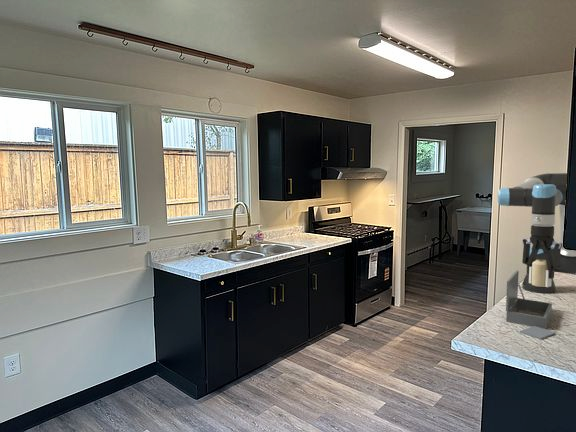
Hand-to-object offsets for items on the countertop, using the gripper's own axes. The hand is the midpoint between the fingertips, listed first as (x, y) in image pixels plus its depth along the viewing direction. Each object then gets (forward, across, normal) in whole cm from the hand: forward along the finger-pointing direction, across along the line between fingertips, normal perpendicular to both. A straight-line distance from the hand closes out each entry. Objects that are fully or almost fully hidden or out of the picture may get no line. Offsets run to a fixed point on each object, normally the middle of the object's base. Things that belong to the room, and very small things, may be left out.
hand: (539, 284), depth 155 cm
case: (+20, -12, +14) cm, 27 cm away
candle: (+1, 0, 0) cm, 1 cm away
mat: (+20, 0, 0) cm, 20 cm away
